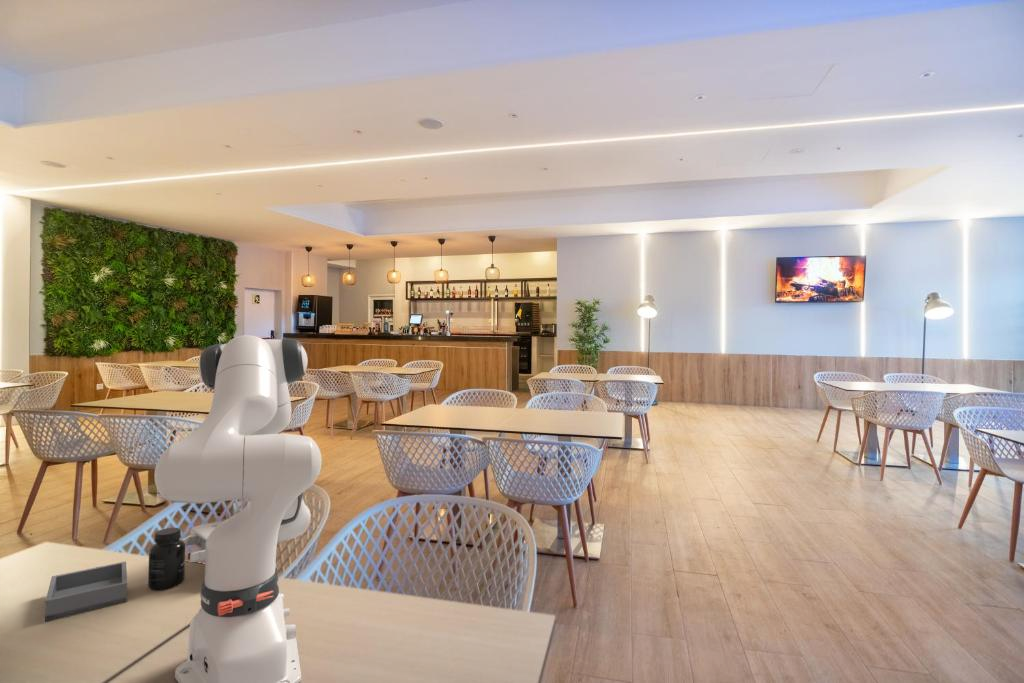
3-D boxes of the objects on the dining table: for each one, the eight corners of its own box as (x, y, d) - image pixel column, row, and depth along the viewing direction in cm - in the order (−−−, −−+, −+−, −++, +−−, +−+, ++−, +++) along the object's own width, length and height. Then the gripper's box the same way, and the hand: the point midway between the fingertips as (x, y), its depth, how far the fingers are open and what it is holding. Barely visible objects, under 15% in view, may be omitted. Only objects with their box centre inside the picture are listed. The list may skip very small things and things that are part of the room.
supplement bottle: (190, 582, 113) (191, 529, 113) (156, 594, 108) (157, 539, 108) (175, 574, 117) (177, 523, 117) (142, 585, 111) (143, 532, 111)
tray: (126, 601, 105) (127, 582, 105) (44, 621, 97) (45, 601, 97) (125, 578, 114) (126, 561, 114) (51, 595, 107) (51, 576, 107)
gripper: (228, 512, 132) (167, 526, 121) (263, 532, 119) (198, 550, 108) (227, 536, 132) (166, 552, 121) (262, 558, 119) (197, 579, 108)
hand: (181, 551), depth 115 cm, fingers open, 8 cm apart
